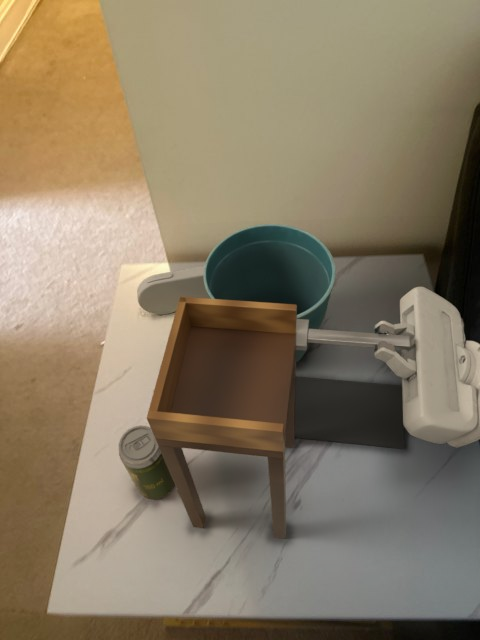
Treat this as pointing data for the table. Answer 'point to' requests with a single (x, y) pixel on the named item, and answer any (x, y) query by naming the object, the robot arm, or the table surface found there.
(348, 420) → the mat
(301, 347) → the fork
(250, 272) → the flower pot
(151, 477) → the beer can
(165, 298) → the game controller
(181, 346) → the stand
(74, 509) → the table surface
